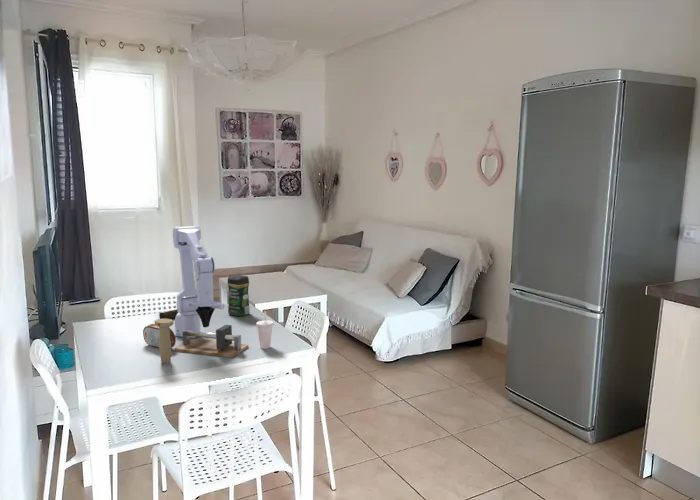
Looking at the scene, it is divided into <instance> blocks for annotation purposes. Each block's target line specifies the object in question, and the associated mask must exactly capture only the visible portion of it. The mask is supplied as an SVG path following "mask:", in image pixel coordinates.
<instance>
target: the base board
mask: <svg viewBox="0 0 700 500" xmlns="http://www.w3.org/2000/svg"><path fill="white" fill-rule="evenodd" d="M246 349H249V344H245V343H241V349H240V350H238V351H236V350H234V342H232V344H231V345H229V346H228V347H226V348H225V349H223V350H220V349H217V347H216V340H210V339H209V340H208V339H198V338H190V343H189V344H187V345H183V343H181V344H180V345H179V346H176V347H175V348H174V352H179V353H180V352H181V353H187V354H196V355H197V354H198V355H205V356H213V357H214V356H215V357H222V358H231V359H234V358H235V357H236V356H238V355H239V354H241V353H242V352H244V351H245V350H246Z"/></svg>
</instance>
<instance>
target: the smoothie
mask: <svg viewBox="0 0 700 500" xmlns="http://www.w3.org/2000/svg"><path fill="white" fill-rule="evenodd" d="M263 312H264V319H263V320H262V319H261V320H259V321H257V322H256V328H257V333H258V341H259V348H260V349H263V350H264V349H265V350H267V349H270V348H271V345H272V343H271V342H272V335H273V334H272V333H273V326H274V321H272V320H269V319H267V311H263Z"/></svg>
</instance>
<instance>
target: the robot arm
mask: <svg viewBox="0 0 700 500" xmlns="http://www.w3.org/2000/svg"><path fill="white" fill-rule="evenodd" d="M172 239H173V240H172V242H173V247H174V248H175V249H177V250H178V251H179V260H180V269H181V271H180V272H181V278H182V279H181V280H182V289H181V291H179V292H178V293H177V295H176V309H177V311H178V314H177V315H176V317H174V329H175V333H174V334H175V337H182V338H183V331H184V330H186V329H187V330H190V331H198V332H206V330H205V331H204V330H201V324H202V327H203V328H208V327H210V322H211V319H212V316H213V314H214V311H215V309H218V310H224V309H225V303H224V302H219V301H214V282H213V281H214V280H213V279H214V277H213V276H214V275H213V273H215V260H214V258H213V256H209V254H208V252H207V250H206V248H205V247H204V246H203V245H201V243H200V240H201V239H202V231H201V228H200V226H198V225H192V226H191V225H189V226H174V228H173V229H172ZM195 280H196V281H195ZM195 282H196V284H195ZM190 339H196V337H194V336H190Z"/></svg>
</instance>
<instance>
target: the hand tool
mask: <svg viewBox="0 0 700 500" xmlns="http://www.w3.org/2000/svg"><path fill="white" fill-rule="evenodd" d="M177 314H178V311H177V308H176V309H173V310H167V311H164V312H159V314H158V316H159V319H173V318H175V317H176V315H177Z"/></svg>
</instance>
